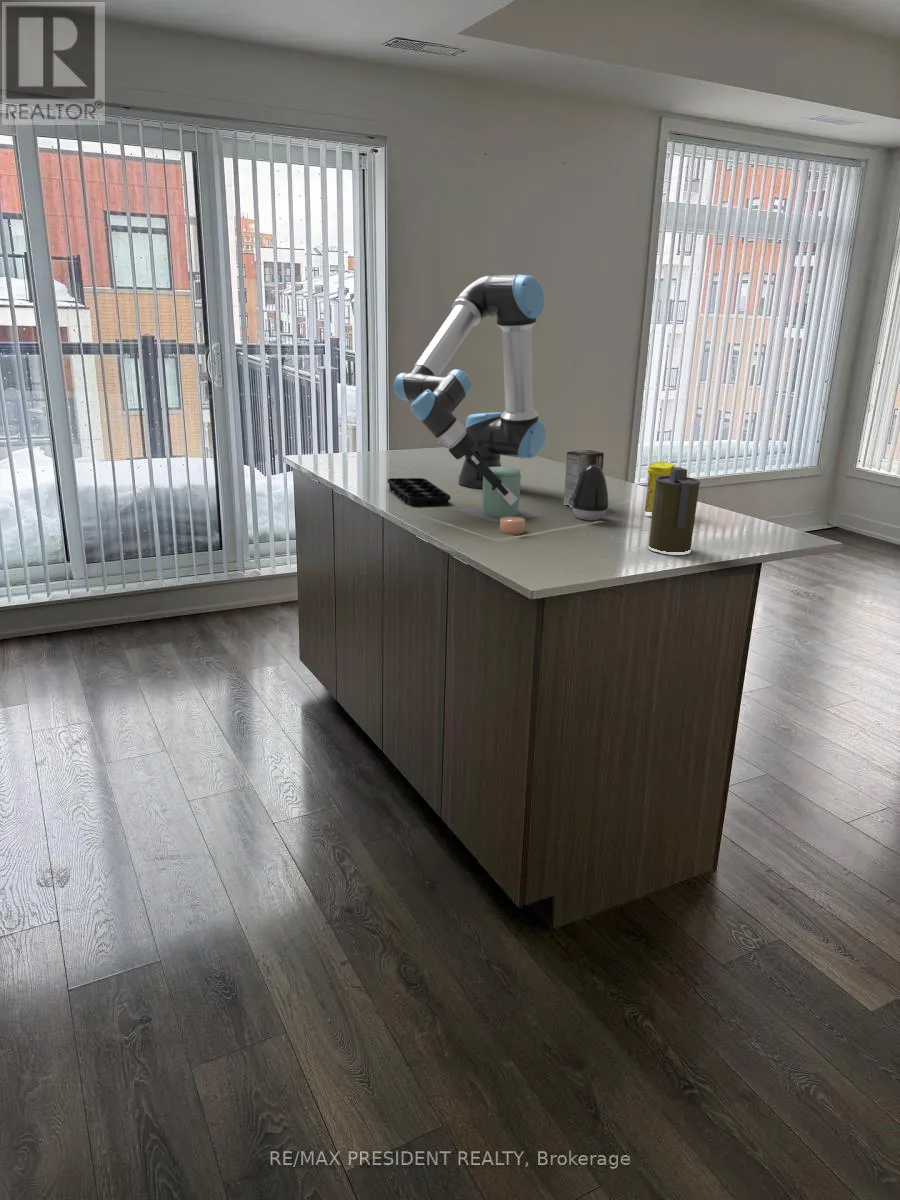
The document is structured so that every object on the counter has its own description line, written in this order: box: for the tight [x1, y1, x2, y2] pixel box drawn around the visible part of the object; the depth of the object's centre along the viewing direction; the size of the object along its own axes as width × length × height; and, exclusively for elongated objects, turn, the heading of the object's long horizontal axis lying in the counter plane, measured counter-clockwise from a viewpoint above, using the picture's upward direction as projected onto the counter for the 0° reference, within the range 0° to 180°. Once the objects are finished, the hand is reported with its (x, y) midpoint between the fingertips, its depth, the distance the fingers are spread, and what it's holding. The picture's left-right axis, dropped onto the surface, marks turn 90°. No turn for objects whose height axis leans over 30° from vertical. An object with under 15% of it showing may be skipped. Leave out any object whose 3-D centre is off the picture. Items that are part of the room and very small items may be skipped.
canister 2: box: [648, 466, 701, 552], centre depth 201 cm, size 11×10×20 cm
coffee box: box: [563, 449, 605, 505], centre depth 246 cm, size 9×6×16 cm
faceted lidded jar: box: [481, 466, 522, 517], centre depth 232 cm, size 10×10×12 cm
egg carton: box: [387, 477, 451, 507], centre depth 252 cm, size 18×30×4 cm, turn 30°
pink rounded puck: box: [499, 517, 526, 535], centre depth 215 cm, size 6×6×4 cm
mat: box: [455, 505, 545, 524], centre depth 234 cm, size 18×18×1 cm
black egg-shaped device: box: [571, 465, 610, 521], centre depth 230 cm, size 10×10×15 cm
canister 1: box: [644, 461, 676, 512], centre depth 239 cm, size 6×11×14 cm, turn 154°
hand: (511, 497), depth 233 cm, fingers open, 10 cm apart
